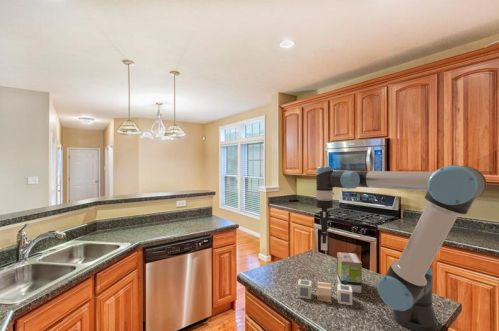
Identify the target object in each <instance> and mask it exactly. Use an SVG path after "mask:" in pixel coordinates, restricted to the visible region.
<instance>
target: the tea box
mask: <svg viewBox="0 0 499 331" xmlns="http://www.w3.org/2000/svg"><path fill="white" fill-rule="evenodd" d="M362 270H363V263H362V261H361V260H360V258H359V257H358V255H357V254H356V253H351V252H339V251H338V252H337V254H336V279H337V282H338V284H340V285H348V286H351V288H352V293H358V294H359V293H361V294H362V287H363V286H362V282H363V281H362V275H363V271H362Z"/></svg>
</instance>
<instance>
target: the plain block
mask: <svg viewBox="0 0 499 331" xmlns="http://www.w3.org/2000/svg"><path fill="white" fill-rule="evenodd" d="M316 289H317V292H316V293H317V294H316V295H317V296H316V298H317V301H320V302H327V303H332V283H331V282H324V281H317V286H316Z"/></svg>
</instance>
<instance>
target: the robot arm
mask: <svg viewBox="0 0 499 331" xmlns="http://www.w3.org/2000/svg"><path fill="white" fill-rule="evenodd" d="M315 172H316V173H315V180H316V183H315V184H316V185H315V186H316V188H315V198H316V200H315V207H316V208H318V209H321V210H320V211H319V216H320V222H321V230H320V231H321V233H319V236H320V251H328V230H329V229H330V228H329V227H328V222H329V217H330V212H329V211H328V210H329V209H333V206H334V201H333V196H334V195H335V192H333V191H334V188H336V189H337V188H340V189H347V190H349V189H352V190H353V189H357V188H371V189H373V188H374V189H384V190H385V189H386V190H400V191H401V190H403V191H415V192H416V191H419V192H426V193H425V195H424V197H423V199H424V201H425V202H426V203H425V204H426V205H425V207H424V210H423V211H422V213H421V215H420V217H419V219H418V221H417V224H416V225H415V228H414V229H413V231H412V233H411V235H410V237H409V239H408V241H407V242H406V245H405V247H404V249H403V250H402V253H401V254H400V257H399V259H398V260H396V261H391V263H390V266H389V267H388V270H387V271H386V273H385V275H383V276H382V277H380V278H379V279H378V281H377V284H376V289H377V293H378V295H379V297H380V299H381V300H382V301H383V303H384V304H386V305H387V306H388V307H389V308H391V309H392V318H393V319H394V321H395V322H397V323H398V324H400V325H401V326H403V327H405V328H406V329H409V330H411V331H438V330H439V320H438V318H437V316H436V312H435V310H434V307H433V277H434V274H433V269H432V268H431V265H432V264H433V261H434V260H435V258H436V256H437V254H438V252H440V249H441V247H442V245H443V243H444V242H445V240H446V239H447V236H448V234H449V233H450V231H451V229H452V228H453V226H454V224H455V222H456V220H457V218H459V217H462V216H466V215H467V214H468V212H469V210H470V208H471V207H472V205H473V203H474V202H475V200H476V199H477V198H479V197H481V196H482V195H483V194H484V193H485V191H486V190H487V186H488V183H487V179H486V177H485V175H484V174H483V173H482V172H481V171H480V170H479V169H476V168H474V167H471V166H465V165H457V164H456V165H446V166H443V167H440V168H439V169H436V170H435V171H405V170H403V171H402V170H401V171H398V170H397V171H395V170H394V171H389V170H387V171H386V170H385V171H384V170H375V171H374V170H369V171H368V170H334V169H333V167H332V166H317V167H316V171H315Z"/></svg>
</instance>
